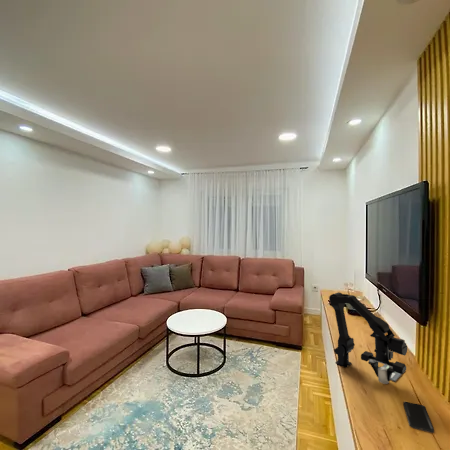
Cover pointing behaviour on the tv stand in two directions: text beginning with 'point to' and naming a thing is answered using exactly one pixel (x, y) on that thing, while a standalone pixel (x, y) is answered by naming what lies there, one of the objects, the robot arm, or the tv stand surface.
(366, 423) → the tv stand surface
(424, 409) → the phone
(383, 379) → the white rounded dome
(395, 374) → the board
